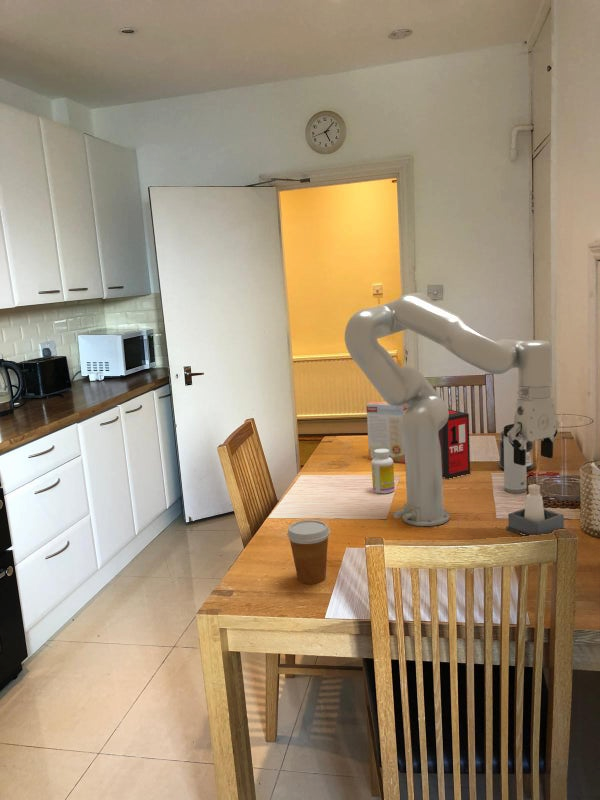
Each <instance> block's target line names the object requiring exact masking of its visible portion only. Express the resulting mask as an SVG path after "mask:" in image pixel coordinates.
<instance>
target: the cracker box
mask: <svg viewBox="0 0 600 800" xmlns="http://www.w3.org/2000/svg"><path fill="white" fill-rule="evenodd" d="M365 406H366V419H367V420H366V422H367V440H368V441H367V442H368V443H367V444H368V456H369V457H368V459H369V461H372V459H374V458H375V455H374V450H376V449H388V450H389V452H390V454H389V457H390V458H392V460H393V463H401V464H403V463H404V464H405V449H404V441H403V436H402V430H401V422H402V417H403V415H404V413H405V412H406V410H407V409H408V408H407V407H406V406H405V405H401V406H392V405H390V404H388V403H387V402H386V401H385V400H384V401H383V400H381V401H380V400H377V401H376V400H374V401H373V400H371V401H370V402H367V403H366V405H365Z"/></svg>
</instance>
